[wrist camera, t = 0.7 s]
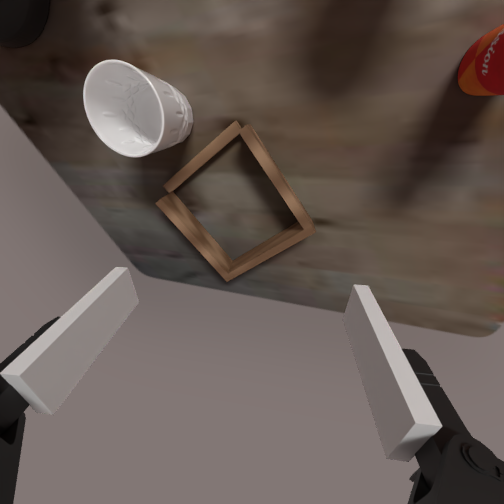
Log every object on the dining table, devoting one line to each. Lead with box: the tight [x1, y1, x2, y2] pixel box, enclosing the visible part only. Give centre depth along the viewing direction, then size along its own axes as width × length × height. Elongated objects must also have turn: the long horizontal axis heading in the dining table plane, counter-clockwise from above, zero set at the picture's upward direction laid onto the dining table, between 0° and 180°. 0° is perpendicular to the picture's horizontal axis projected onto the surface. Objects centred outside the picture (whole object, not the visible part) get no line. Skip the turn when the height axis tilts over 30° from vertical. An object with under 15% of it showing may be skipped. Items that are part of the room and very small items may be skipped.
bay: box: [155, 121, 316, 282], centre depth 33 cm, size 18×16×4 cm
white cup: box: [83, 60, 193, 157], centre depth 26 cm, size 8×8×10 cm
